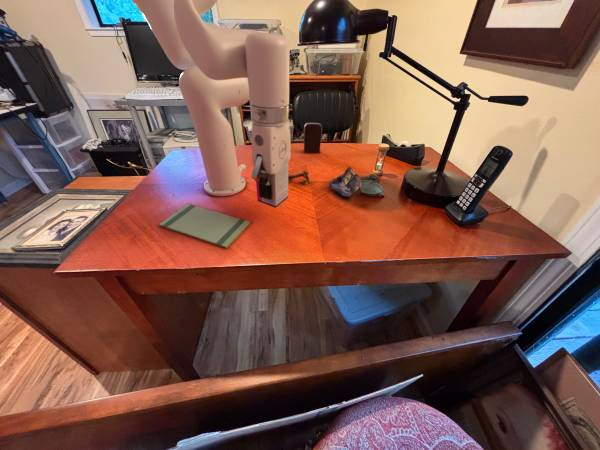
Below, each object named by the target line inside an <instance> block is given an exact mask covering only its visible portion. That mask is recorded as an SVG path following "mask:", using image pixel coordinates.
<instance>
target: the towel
mask: <svg viewBox="0 0 600 450" xmlns="http://www.w3.org/2000/svg"><path fill="white" fill-rule="evenodd" d="M250 224H251V221H249V220H246V219H243V218H238V217H235V216H232V215H229V214H225V213H222V212H218V211H214V210H211V209H207V208H204V207H201V206H197V205H195V204H190V203H186V204H185V205H184V206H182V207H181V208H179V209H178V210H176V211H175V212H174V213H172V214H171V215H170V216H168V217H166V218H165V219H164V220H163V221H161V222H160V223H158V226H159V227H161V228H164V229H167V230H171V231H173V232H176V233H178V234H179V233H180V234H181V235H185V236H188V237H190V238H194V239H197V240H200V241H203V242H205V243H209V244H212V245H215V246H218V247H221V248H224V249H228V248H229V247H230V245H231V244H232V243H233V242H234V241H235V240H236V239H237V238H238V237H239V236H240V235H241V234H242V233H243V232H244V230H245V229H247V227H248V226H249V225H250Z"/></svg>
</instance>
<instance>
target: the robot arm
mask: <svg viewBox="0 0 600 450" xmlns="http://www.w3.org/2000/svg"><path fill="white" fill-rule="evenodd" d="M131 1H132V3H133V4H134V6H136V8H137V9H138V10H139V12H140V13H141V14H142V16H143V17H144V19H145V20H146V22H147V24H148V26H149V27H150V29H151V31H152V33H153V34H154V37H155V38H156V40H157V42H158V44H159V45H160V47H161V48H162V50H163V52H164V54H165V55H166V57H167V59H168V60H169V61H170V62H171V64H172V65H173V66H174V67H175V68H177V69H179V70H182V73H181V74H180V76H179V79H178V85H179V90H180V93H181V96H182V98H183V100H184V103H185V105H186V107H187V110H188V113H189V115H190V118H191V121H192V124H193V128H194V133H195V136H196V139H197V143H198V147H199V151H200V155H201V158H202V163H203V167H204V171H205V175H206V179H207V180H205V182H204V184H203V190H204V192H205V193H207V194H208V195H211V196H213V197H214V196H215V197H227V196H232V195H233V196H234V195H235V194H238V193H240V192H241V191H243V190H244V189H245V187H246V185H247V184H246V180H245V178H244V177H243V176H242V175H241V174H242V173H243V172H244V171H246V170H247V166H246V165H245V164H244V163H242V164H240V165H238V164H239V163H238V159H237V151H236V143H235V139H234V133H233V128H232V125H231V124H230V122H229V120H228V119H227V118H226V117H225V115H223V113H222V110H225V109H229V108H235V107H239V106H243V105H245V104H247V103H248V102H249V110H250V121H251V159H252V168H253V169H252V172H251V175H250V177H251V179H253V180H254V181H255V183H256V182H257V183H258V186H259V196H260V197H262V198H265V199H269V200H271V199H272V184H270V180H271V175H273V174H275V173H277V172H278V171H279V170H280V169H281V168H282V167H283V161H284V158H285V157H286V156H287V155H288V162H289V161H290V160H291V157H292V156H291V155H292V151H291V150H292V148H291V146H292V145H291V127H290V60H291V59H290V56H291V55H290V53H291V52H290V51H291V48H290V41H289V39H288V38H287V36H285V35H283V34H280V33H272V32H261V31H258V30H256V29H249V28H231V27H230V28H229V27H221V26H219V25H218V24H216V23H213V22H208V21H204V20H203V19H202V16H203V15H204V14H206V13H207V12H208V11H210V10H211V9H213V7H214V6H215V5H216V3H217V1H218V0H131ZM262 167H264V168H265V170H263V169H262ZM262 173H265V174H267V176H266V179H265V178H264V177H262Z"/></svg>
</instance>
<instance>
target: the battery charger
mask: <svg viewBox="0 0 600 450" xmlns="http://www.w3.org/2000/svg"><path fill="white" fill-rule="evenodd" d="M322 135H323V126H322V124H321V123H320V122H314V121H308V122H306V123H305V124H304V126H303V152H304V153H306V154H320V153H321V145H322Z"/></svg>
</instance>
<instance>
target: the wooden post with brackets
mask: <svg viewBox="0 0 600 450" xmlns="http://www.w3.org/2000/svg"><path fill="white" fill-rule="evenodd" d="M309 174H310V172H309V171H307V170H303V172H299V173H296V174H292V175H291V174H290V173H288V182H290V181H291V180H293V179H298V178H301V177H303V178H304V179H302V180H300V181H299V184H301V185H302V184H306V183H307V184H308V185H311V179H310V177H309V176H308V175H309Z"/></svg>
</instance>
